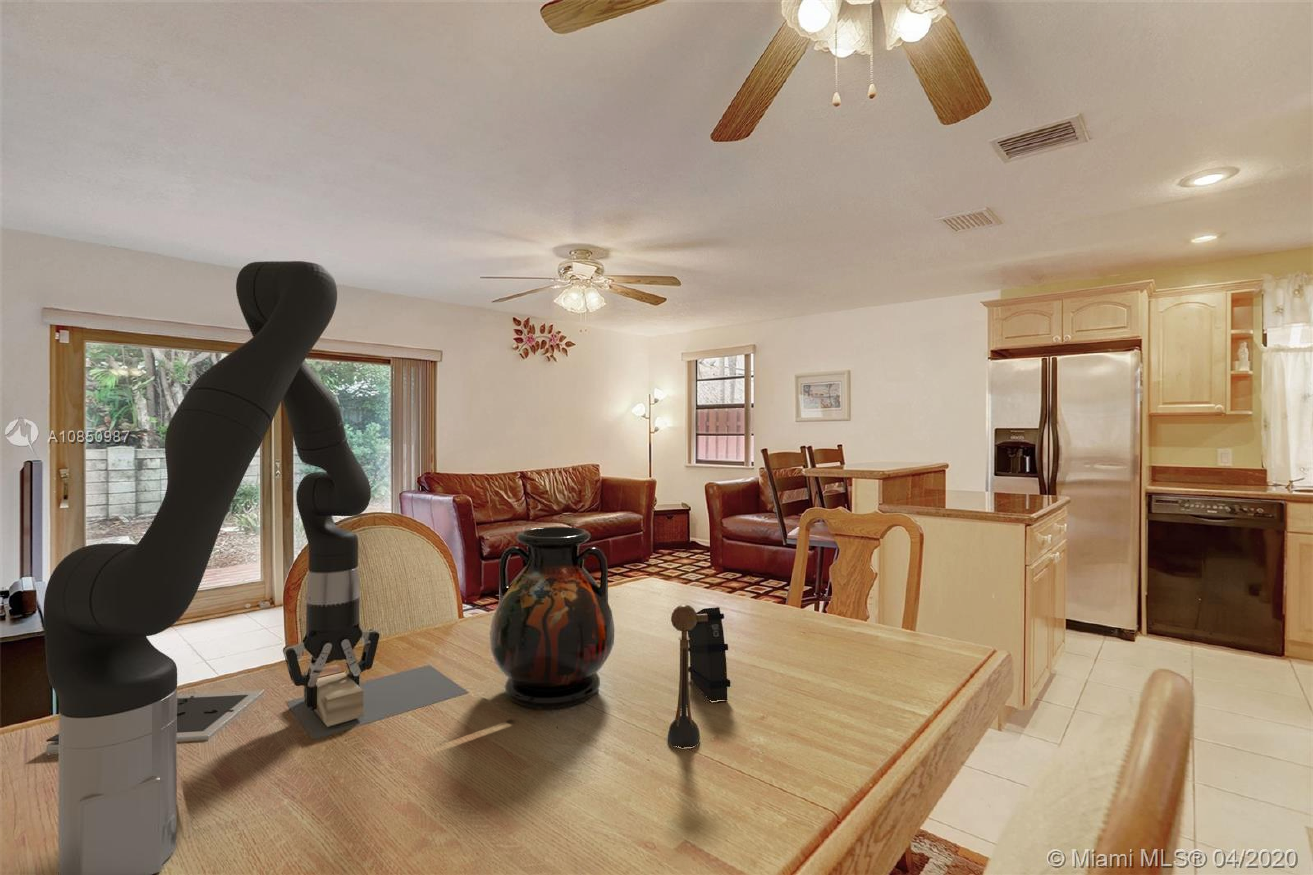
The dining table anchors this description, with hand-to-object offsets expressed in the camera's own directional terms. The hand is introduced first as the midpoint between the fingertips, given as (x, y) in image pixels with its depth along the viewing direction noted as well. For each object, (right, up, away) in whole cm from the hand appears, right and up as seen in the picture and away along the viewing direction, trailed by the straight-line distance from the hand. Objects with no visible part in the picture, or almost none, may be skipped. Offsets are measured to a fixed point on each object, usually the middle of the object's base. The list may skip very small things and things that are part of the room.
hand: (332, 702), depth 97 cm
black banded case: (+61, -2, +11) cm, 62 cm away
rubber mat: (+5, -2, +5) cm, 7 cm away
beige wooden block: (0, -1, 0) cm, 1 cm away
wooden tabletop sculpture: (+56, -2, -8) cm, 57 cm away
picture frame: (-24, -3, -3) cm, 24 cm away
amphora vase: (+34, -2, +10) cm, 35 cm away
